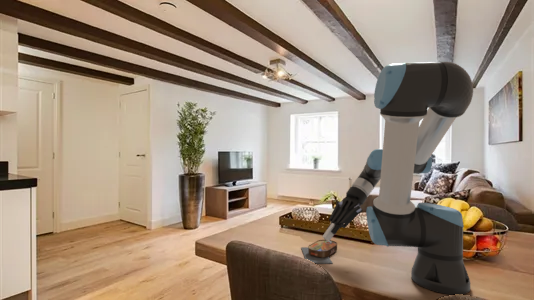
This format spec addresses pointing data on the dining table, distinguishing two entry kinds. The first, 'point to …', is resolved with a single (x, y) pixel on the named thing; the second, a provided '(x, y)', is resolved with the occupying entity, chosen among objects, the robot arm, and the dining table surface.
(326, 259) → the mat
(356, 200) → the robot arm
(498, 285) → the dining table surface
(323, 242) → the tin
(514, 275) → the dining table surface
